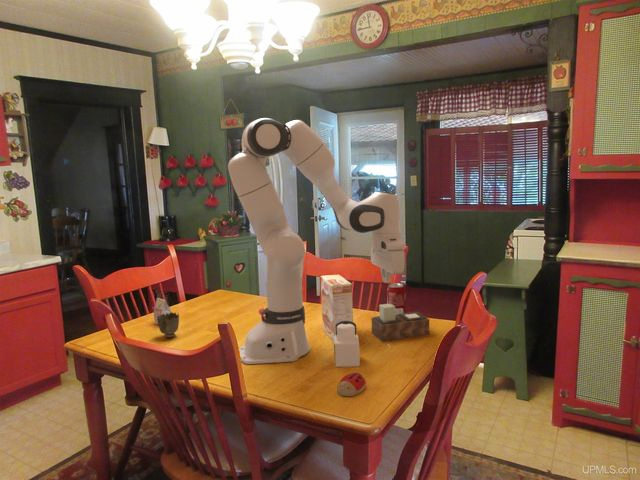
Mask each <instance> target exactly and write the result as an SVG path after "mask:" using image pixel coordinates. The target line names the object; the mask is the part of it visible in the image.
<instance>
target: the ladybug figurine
mask: <svg viewBox="0 0 640 480" xmlns="http://www.w3.org/2000/svg"><path fill="white" fill-rule="evenodd" d="M366 387H367V382H366V380H365V377H364V376H363V375H362V374H361V373H360V372H351V373H348V374H346V375H344V377H342V378H341V380H340V381H339V383H338V385H337V388H336V389H337V393H338V394H339V395H340V396H342V397H345V398H346V397H353V396H356V395H358V394H361V393H362V392H363V391H364V390H365V389H366Z"/></svg>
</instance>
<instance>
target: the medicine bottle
mask: <svg viewBox="0 0 640 480" xmlns="http://www.w3.org/2000/svg"><path fill="white" fill-rule="evenodd" d="M333 346H334V347H333V349H334V367H335V368H345V367H346V368H347V367H348V368H349V367H351V368H352V367H360V364H361V361H360V341H359V335H358V334H357V324H356V323H355V322H354V321H353V322H351V321H341V322H339V323H337V324H336V335H335V336H334V342H333Z"/></svg>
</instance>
